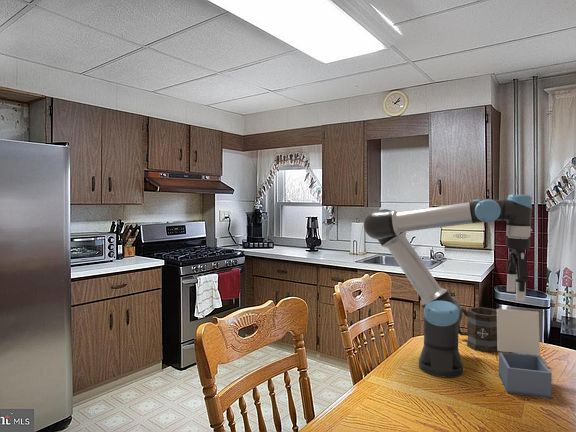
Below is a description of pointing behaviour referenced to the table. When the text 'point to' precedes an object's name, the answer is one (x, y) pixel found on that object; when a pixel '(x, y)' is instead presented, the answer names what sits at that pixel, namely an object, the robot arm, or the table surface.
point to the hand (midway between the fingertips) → (515, 295)
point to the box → (524, 375)
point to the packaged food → (533, 355)
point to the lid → (518, 331)
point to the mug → (481, 329)
